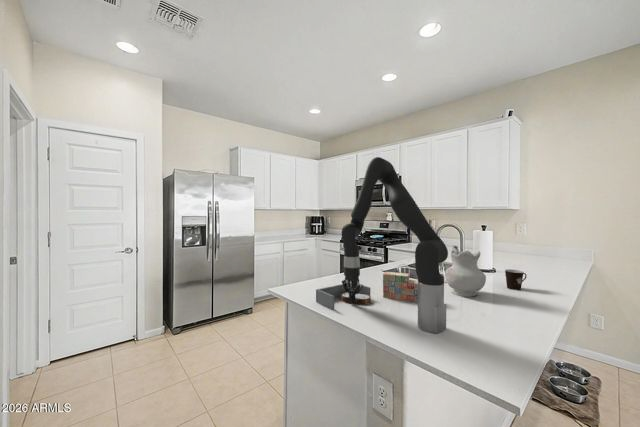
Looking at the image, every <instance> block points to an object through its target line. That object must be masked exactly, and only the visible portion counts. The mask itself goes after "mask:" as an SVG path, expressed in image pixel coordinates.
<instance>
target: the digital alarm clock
mask: <svg viewBox="0 0 640 427" xmlns="http://www.w3.org/2000/svg"><path fill="white" fill-rule="evenodd" d="M340 301H341V302H343V303H348V304H352V303H351V302H350V301H349V294H348V293H343V294H342V295H341V297H340ZM371 303H372V296H371V295H370V296H369V295H366V294H356V295H355V302H354V303H353V304H355V305H363V306H365V305H370V304H371Z"/></svg>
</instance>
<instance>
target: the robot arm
mask: <svg viewBox="0 0 640 427" xmlns="http://www.w3.org/2000/svg"><path fill="white" fill-rule="evenodd" d="M378 181H380V183H381V184H382V185H383V187H384V188H385V190H386V191H387V194H388V198H389V200H388V201H389V204H390V207H391V209H392V210H393V212H394V214H395V215H396V217H397V219H398V220H399V221H400V222H401V223H402V224H403V225H404V226H405V227H406V228H408V229H409V230H410V231H411V232H412V233H413V234H414V235H415V236H416V237H417V239H418V240H419V243H418V244H417V245H416V247H415V250H414V251H415V252H414V263H415V267H414V268H415V274H416V277H417V280H418V302H417V328H419V330H421V331H425V332H429V333H434V334H439V333H443V332H444V331H446V330H447V303H445V275H443V274H441V273H440V264H441V263H444V262H445V261H446V260H447V258H448V257H449V251H448V248H447V246H446V244H445V242H444V241H443V240H442V239H441V237H440V236H439V235H438V234H437V233H436V231H435V230H434V229H433V228H432V226H431V224H430V223H429V222H428V220H427V219H426V217H425V215H424V214H423V212H422V211H421V209H420V207H419V206H418V204H417V203H416V200H414V198H413V196H412V195H411V194H410V192H409V191H408V190H407V188H406V187H405V185H404V184H403V183H402V181H401V179H400V178H399V175H398V174H397V172H396V170H395V167H394V165H393V164H392V163H391V162H390V161H389V160H387V159H385V158H382V157H381V156H380V157H378V156H377V157H374V158H372V159H371V160H370V161H369V163H368V165H367V166H366V171H365V175H364V178H363V181H362V185H361V188H360V191H359V193H358V194H359V195H358V197H357V199H356V202H355V205H354V207H353V208H352V211H351V212H350V213H351V214H350V216H351V220H350V222H349V223H346V224H344V225H343V227H342V229H341V239H342V240H341V241H342V244H343V255H344V256H343V276H344V279H343V280H341V284H343V286H344V288H345V291H346V292H348V294H349V301H350V302H351V303H350V304H354V302H355V295H356V294H359V292H360V291H361V289H362V287H363V285H364V284H361V283H360V278H359V277H361V276H360V275H361V264H360V261H361V260H360V247H359V244H358V243H357V241H356V238H357V237H359V236H360V235H361V233H362V231H363V228H364V224H365V221H366V218H367V216H368V214H369V212H370V210H371V207H372V203H373V194H374V190H375V187H376V184H377V182H378Z"/></svg>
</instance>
